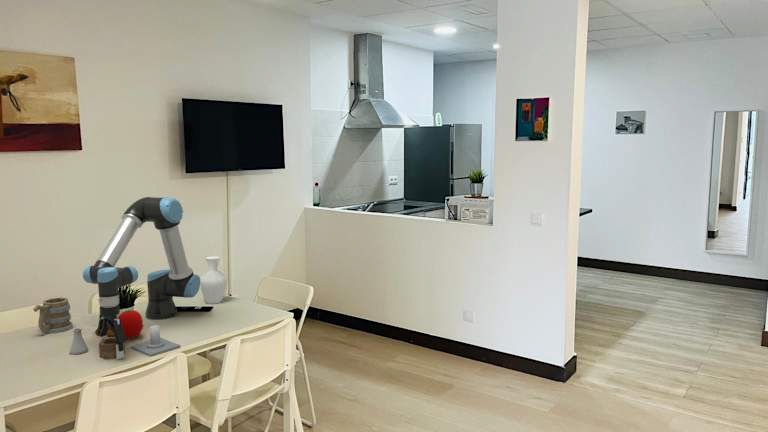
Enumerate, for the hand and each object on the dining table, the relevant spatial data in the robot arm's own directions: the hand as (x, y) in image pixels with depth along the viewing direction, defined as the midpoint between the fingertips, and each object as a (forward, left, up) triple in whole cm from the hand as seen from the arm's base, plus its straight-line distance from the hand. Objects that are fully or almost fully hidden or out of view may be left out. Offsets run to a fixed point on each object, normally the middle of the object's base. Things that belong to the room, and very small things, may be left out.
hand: (112, 354), depth 244 cm
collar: (0, 0, 0) cm, 0 cm away
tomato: (-15, +16, 0) cm, 22 cm away
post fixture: (+6, +16, 0) cm, 17 cm away
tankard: (-52, -3, 0) cm, 52 cm away
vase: (-35, +75, 0) cm, 83 cm away
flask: (-15, -7, 0) cm, 17 cm away
